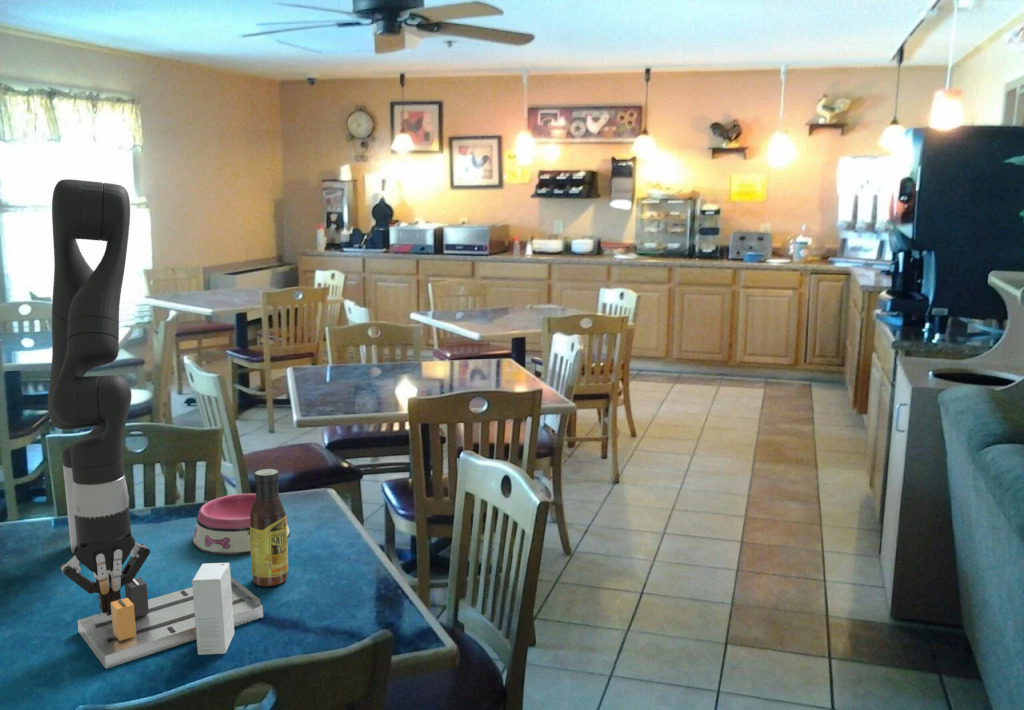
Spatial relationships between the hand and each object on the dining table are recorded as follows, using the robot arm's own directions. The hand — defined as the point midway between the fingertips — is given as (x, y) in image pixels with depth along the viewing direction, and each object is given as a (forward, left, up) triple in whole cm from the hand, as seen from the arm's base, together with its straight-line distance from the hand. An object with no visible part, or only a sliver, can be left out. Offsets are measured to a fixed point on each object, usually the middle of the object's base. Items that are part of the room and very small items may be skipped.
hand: (110, 612), depth 135 cm
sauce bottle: (-2, +27, -4) cm, 27 cm away
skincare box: (+14, +11, -4) cm, 18 cm away
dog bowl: (-24, +32, -4) cm, 40 cm away
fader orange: (+6, 0, -1) cm, 6 cm away
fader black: (0, +4, -1) cm, 4 cm away
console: (+3, +8, -4) cm, 9 cm away
